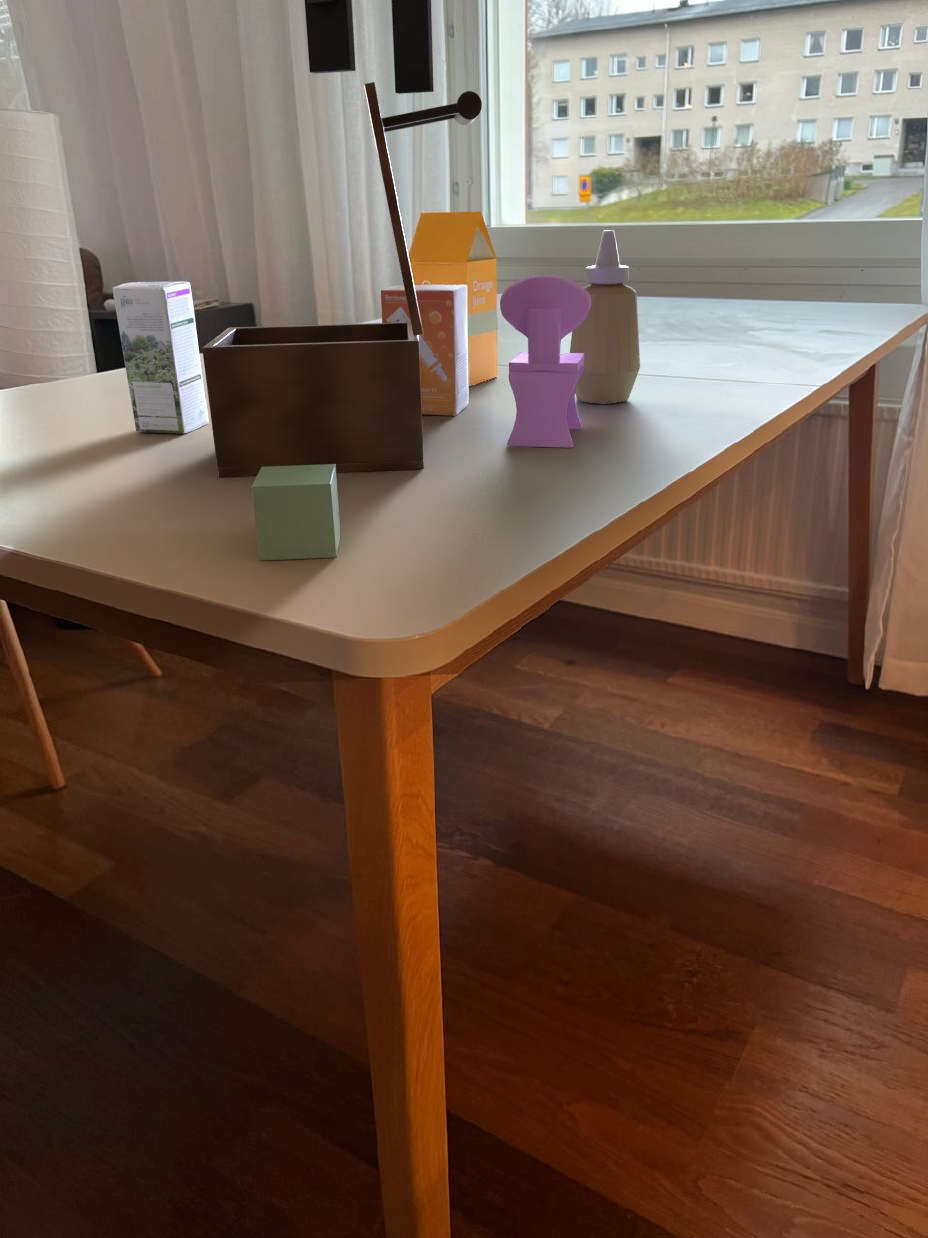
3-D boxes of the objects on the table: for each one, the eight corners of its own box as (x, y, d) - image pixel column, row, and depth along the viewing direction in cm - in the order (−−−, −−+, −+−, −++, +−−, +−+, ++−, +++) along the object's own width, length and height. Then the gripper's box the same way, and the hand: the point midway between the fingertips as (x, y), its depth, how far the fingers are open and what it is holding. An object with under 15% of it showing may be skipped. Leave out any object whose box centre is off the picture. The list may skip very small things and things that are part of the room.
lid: (363, 83, 71) (480, 60, 71) (368, 101, 84) (467, 81, 83) (413, 335, 78) (519, 314, 78) (411, 317, 91) (502, 299, 91)
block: (259, 561, 63) (251, 486, 61) (269, 536, 67) (261, 466, 65) (336, 557, 63) (330, 483, 61) (340, 533, 67) (335, 463, 65)
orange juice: (469, 386, 119) (465, 212, 111) (409, 382, 123) (402, 213, 115) (498, 377, 125) (497, 210, 117) (441, 372, 129) (435, 211, 121)
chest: (218, 477, 82) (201, 347, 78) (241, 441, 95) (228, 327, 90) (423, 469, 83) (418, 340, 79) (420, 434, 95) (415, 321, 91)
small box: (385, 414, 105) (378, 288, 99) (401, 403, 110) (396, 283, 105) (457, 416, 103) (454, 288, 98) (470, 404, 109) (467, 283, 103)
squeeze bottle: (556, 396, 112) (558, 230, 105) (618, 391, 114) (625, 228, 107) (585, 409, 105) (590, 232, 98) (651, 403, 107) (661, 229, 100)
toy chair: (592, 427, 97) (597, 269, 91) (584, 447, 89) (589, 276, 83) (511, 425, 98) (510, 270, 92) (496, 445, 90) (494, 277, 84)
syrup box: (210, 422, 103) (192, 279, 97) (184, 435, 97) (162, 284, 92) (162, 421, 104) (141, 280, 98) (133, 433, 99) (109, 284, 93)
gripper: (382, -242, 67) (396, 101, 76) (176, -449, 46) (228, 64, 54) (484, -259, 65) (486, 96, 73) (318, -485, 43) (349, 55, 52)
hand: (377, 83), depth 64 cm, fingers open, 13 cm apart
